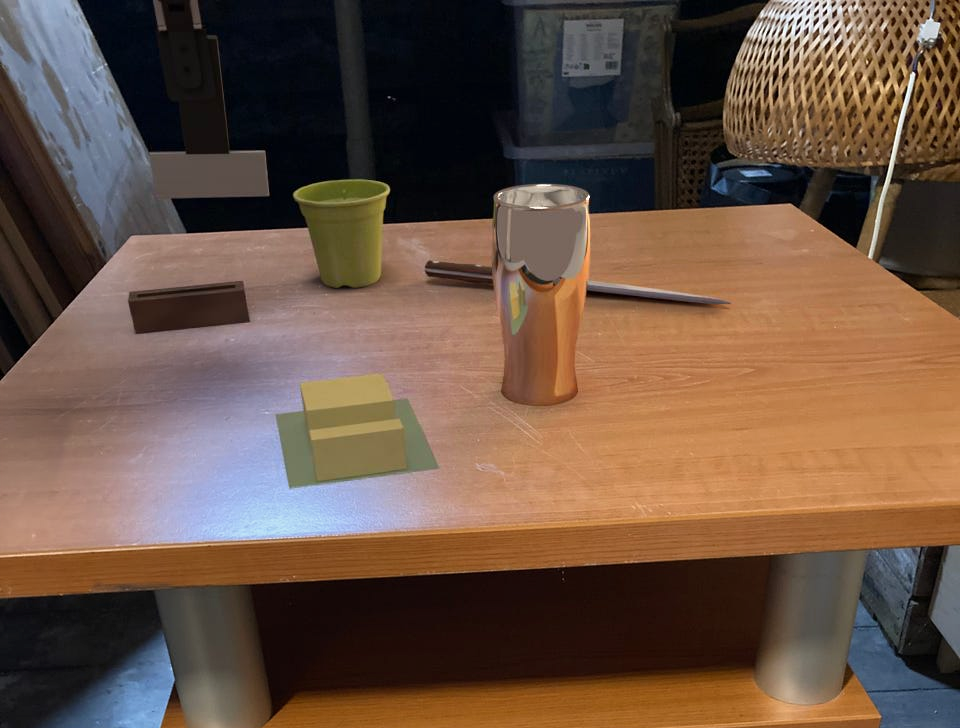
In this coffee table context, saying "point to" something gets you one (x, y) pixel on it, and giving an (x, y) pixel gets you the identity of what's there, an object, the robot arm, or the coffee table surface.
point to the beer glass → (540, 287)
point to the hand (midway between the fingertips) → (192, 94)
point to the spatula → (208, 153)
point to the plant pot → (345, 229)
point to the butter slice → (358, 449)
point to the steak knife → (484, 275)
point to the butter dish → (304, 475)
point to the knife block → (188, 306)
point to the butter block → (346, 401)
